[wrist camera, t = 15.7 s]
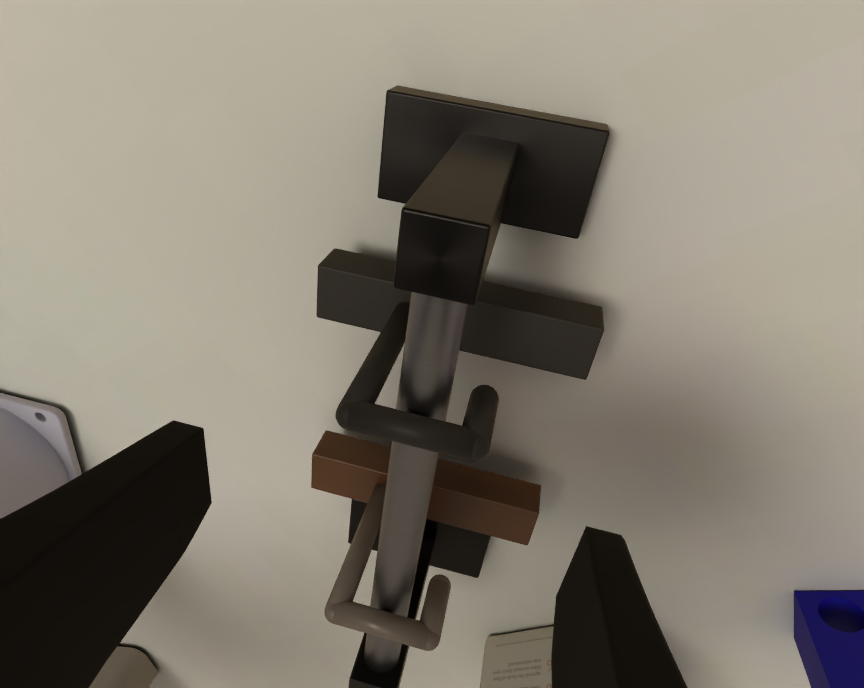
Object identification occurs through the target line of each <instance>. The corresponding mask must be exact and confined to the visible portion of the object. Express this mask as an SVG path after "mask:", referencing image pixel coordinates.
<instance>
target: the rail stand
mask: <svg viewBox="0 0 864 688" xmlns="http://www.w3.org/2000/svg"><path fill="white" fill-rule="evenodd" d="M608 137H609V129H608V125H606V124H602V123H597V122H591V121H586V120H581V119H575V118H570V117H564V116H559V115H553V114H548V113H543V112H537V111H532V110H526V109H521V108H515V107H510V106H504V105H499V104H494V103H488V102H483V101H477V100H472V99H466V98H461V97H456V96H450V95H445V94H439V93H434V92H428V91H423V90H417V89H412V88H407V87H401V86H395V87H393V88H391V89H389V90H387V93H386V105H385V116H384V128H383V140H382V151H381V163H380V175H379V187H378V198H381V199H386V200H391V201H395V202H400V203H405V206H404V207H403V208H402V210H401V219H400V228H399V237H398V246H397V256H396V265H395V274H394V283H393V285H394V288H396V289H401V290H405V291H410V292H412V293H411V300H410V308H409V316H408V323H407V331H406V339H405V346H404V354H403V361H402V369H401V377H400V384H399V392H398V400H397V407H396V409H397V410H401V411H405V412H409V413H413V414H417V415H421V416H425V417H429V418H433V419H437V420H441V421H445V420H446V415H447V410H448V405H449V400H450V395H451V390H452V384H453V379H454V374H455V369H456V364H457V359H458V354H459V349H460V343H461V338H462V333H463V328H464V323H465V318H466V313H467V308H468V305H475V303H476V301H477V298H478V295H479V292H480V288H481V285H482V282H483V279H484V275H485V272H486V269H487V266H488V263H489V259H490V256H491V253H492V250H493V246H494V243H495V240H496V237H497V234H498V230H499V227H500V224H501V223H503V224H507V225H512V226H517V227H522V228H527V229H532V230H537V231H542V232H546V233H551V234H556V235H561V236H566V237H571V238H576V239H577V238H579V235H580V232H581V228H582V225H583V222H584V218H585V215H586V211H587V208H588V205H589V201H590V198H591V195H592V191H593V188H594V184H595V181H596V178H597V174H598V171H599V167H600V164H601V161H602V157H603V154H604V150H605V147H606V144H607V140H608ZM438 456H439V453H436V452H432V451H428V450H425V449H421V448H417V447H413V446H409V445H405V444H401V443H397V442H393V441H392V445H391V453H390V460H389V468H388V476H387V483H386V491H385V499H384V506H383V514H382V521H381V526H380V528H379V531H378V534H377V536H376V539H375V542H374V545H373V547H372V550H376V551H378V552H377V559H376V567H375V575H374V582H373V590H372V598H371V605H370V607H373V608H377V609H380V610H384V611H387V612H391V613H394V614H398V615H401V616H405V617H408V618H411V619H415V620H416V617H417V613H418V609H419V605H420V601H421V597H422V593H423V589H424V585H425V581H426V577H427V573H428V569H429V565H431V566H435V567H438V568H442V569H446V570H449V571H453V572H457V573H460V574H464V575H468V576H472V577H475V578H478V577H479V574H480V571H481V567H482V564H483V560H484V557H485V554H486V550H487V547H488V543H489V540H490V537H491V536H490V535H486V534H483V533H479V532H475V531H471V530H468V529H464V528H460V527H456V526H453V525H449V524H445V523H441V522H438V521H434V520H430V519H426V518H427V513H428V507H429V502H430V497H431V492H432V487H433V482H434V477H435V472H436V466H437V461H438ZM367 504H368V503H367V502H363V501H359V500H355V499H352V504H351V516H350V527H349V539H348V542H349V543H350V544H351V543H352V541H353V538H354V536H355V533H356V531H357V528H358V526H359V523H360V521H361V519H362V516H363V514H364V511H365V509H366V506H367ZM408 649H409V646H408V645H405V644H402V643H398V642H395V641H391V640H388V639H384V638H381V637H378V636H374V635H371V634H367V633H364V636H363V639H362V642H361V645H360V648H359V651H358V654H357V657H356V660H355V664H354V667H353V670H352V673H351V676H350V680H349V688H399V685H400V681H401V677H402V673H403V669H404V665H405V661H406V657H407V653H408Z"/></svg>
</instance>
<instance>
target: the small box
mask: <svg viewBox="0 0 864 688" xmlns="http://www.w3.org/2000/svg"><path fill="white" fill-rule="evenodd" d="M553 627H554V626H552V627H546V628H539V629H533V630H527V631H521V632H515V633H509V634H503V635H497V636H490V637H488V638H487V639H486V643H485V650H484V658H483V667H482V675H481V683H480V688H552V671H551V652H552V640H553Z"/></svg>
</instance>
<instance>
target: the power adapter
mask: <svg viewBox="0 0 864 688" xmlns="http://www.w3.org/2000/svg"><path fill="white" fill-rule="evenodd" d="M157 674H158V672H157V670H156V668H155V667H154V666H153V664H152V663H151V661H150V660H149V659H148V657H147V656H146V655H145V654H144V653H143V652H141V651H140V650H138V649H135V648H129V647H119V646H117V647H116V649H115V650H114V652H113V653H112V654H111V656H110V657H109V659H108V660H107V661H106V663H105V664H104V666H103V667H102V669H101V670H100V672H99V673H98V675H97V676H96V678H95V679H94V681H93V682H92V684H91V685H90V687H89V688H149V687H150V685H151V684H152V682H153V680H154V679H155V677H156V676H157Z"/></svg>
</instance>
